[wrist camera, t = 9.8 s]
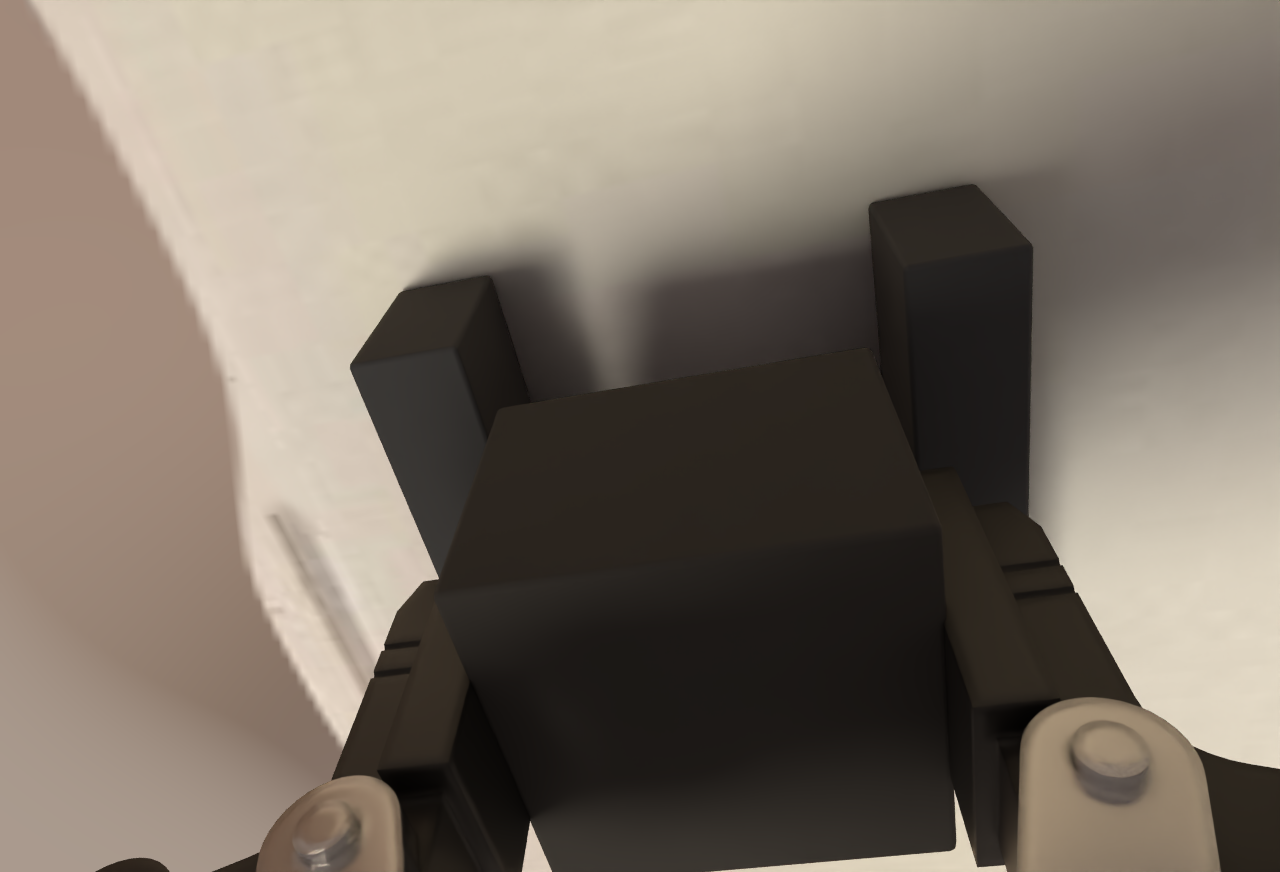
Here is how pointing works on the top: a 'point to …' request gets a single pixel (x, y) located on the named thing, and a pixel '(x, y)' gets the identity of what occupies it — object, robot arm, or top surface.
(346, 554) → the top surface
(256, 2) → the top surface
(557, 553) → the black cube
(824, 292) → the top surface
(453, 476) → the dark grey notched block
